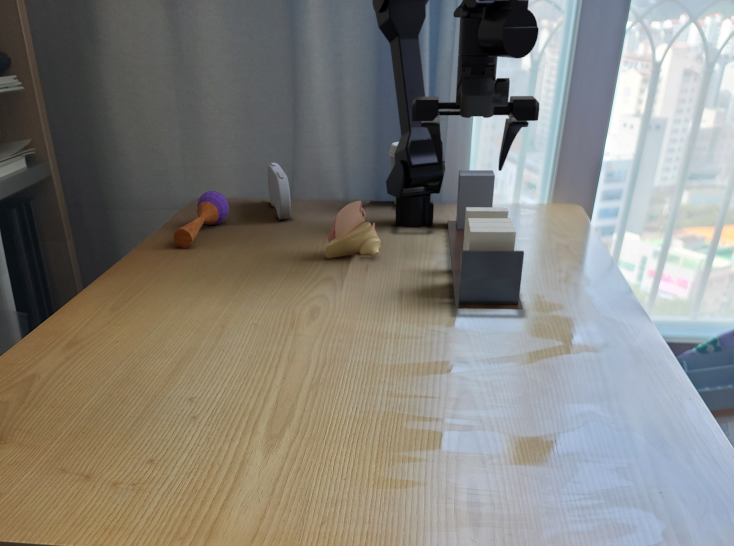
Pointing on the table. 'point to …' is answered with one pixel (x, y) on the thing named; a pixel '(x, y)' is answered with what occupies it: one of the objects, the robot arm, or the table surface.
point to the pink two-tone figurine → (352, 233)
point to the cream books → (490, 234)
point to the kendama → (203, 217)
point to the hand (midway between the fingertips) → (470, 170)
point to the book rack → (484, 275)
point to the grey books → (473, 192)
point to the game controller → (279, 190)
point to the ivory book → (483, 215)
